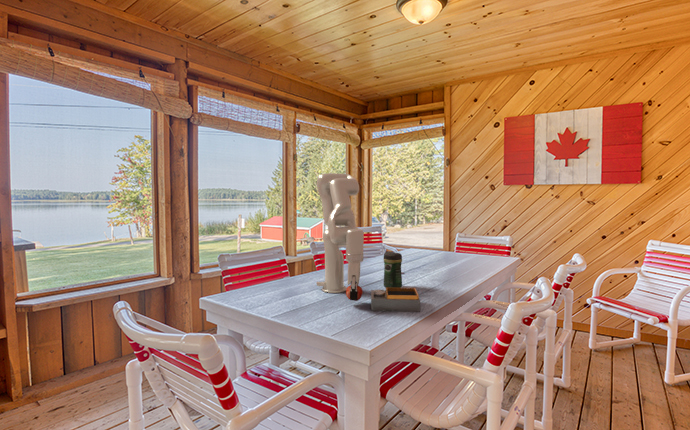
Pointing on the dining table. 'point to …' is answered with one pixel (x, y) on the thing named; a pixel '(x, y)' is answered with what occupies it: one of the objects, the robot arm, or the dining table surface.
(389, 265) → the coffee jar
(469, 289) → the dining table surface
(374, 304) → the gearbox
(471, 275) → the dining table surface
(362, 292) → the pomegranate
